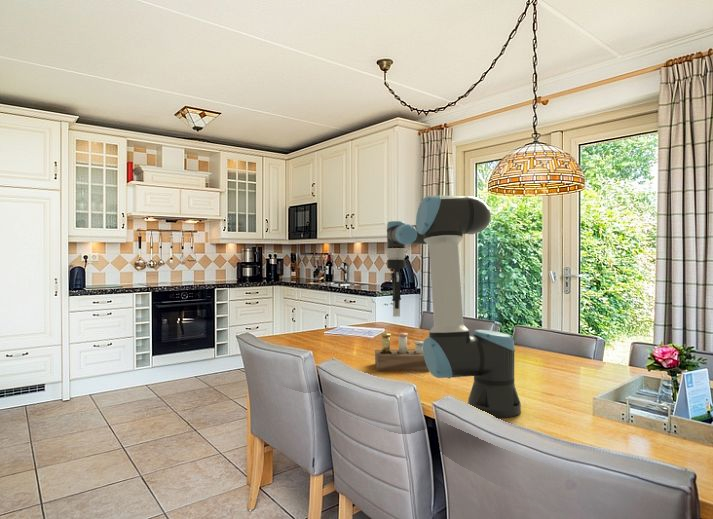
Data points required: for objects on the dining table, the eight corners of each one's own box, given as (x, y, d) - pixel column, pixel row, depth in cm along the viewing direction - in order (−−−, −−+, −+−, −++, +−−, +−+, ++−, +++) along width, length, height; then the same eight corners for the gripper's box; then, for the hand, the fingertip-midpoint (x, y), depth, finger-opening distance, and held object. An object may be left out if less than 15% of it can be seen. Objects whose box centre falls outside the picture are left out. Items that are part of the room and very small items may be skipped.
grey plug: (425, 364, 185) (425, 342, 185) (415, 364, 185) (415, 343, 185) (424, 361, 190) (423, 340, 189) (413, 362, 189) (413, 341, 189)
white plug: (408, 355, 185) (408, 334, 185) (398, 356, 185) (398, 334, 185) (407, 353, 189) (407, 332, 189) (397, 353, 189) (397, 332, 189)
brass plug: (391, 356, 185) (391, 334, 185) (381, 356, 185) (381, 334, 185) (390, 353, 189) (390, 332, 189) (380, 354, 189) (380, 332, 189)
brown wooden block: (432, 370, 182) (432, 355, 182) (377, 371, 181) (377, 356, 181) (426, 362, 194) (426, 348, 194) (375, 363, 193) (375, 349, 193)
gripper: (407, 259, 180) (407, 318, 181) (403, 258, 193) (403, 313, 194) (388, 259, 180) (388, 318, 181) (386, 258, 193) (386, 314, 194)
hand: (396, 316), depth 187 cm, fingers closed
